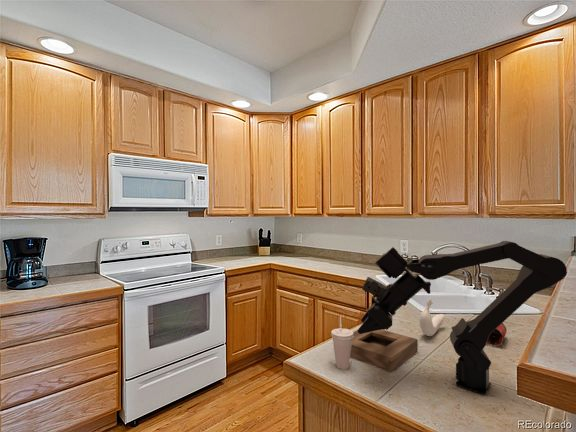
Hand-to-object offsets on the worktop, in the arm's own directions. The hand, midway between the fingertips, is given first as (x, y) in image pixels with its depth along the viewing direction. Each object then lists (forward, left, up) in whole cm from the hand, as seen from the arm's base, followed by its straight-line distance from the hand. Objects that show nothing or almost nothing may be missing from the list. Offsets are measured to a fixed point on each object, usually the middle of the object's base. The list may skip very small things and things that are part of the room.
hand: (360, 326), depth 88 cm
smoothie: (+5, +2, -12) cm, 13 cm away
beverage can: (-23, -48, -12) cm, 55 cm away
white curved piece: (-5, -40, -12) cm, 42 cm away
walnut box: (+2, -13, -12) cm, 17 cm away
